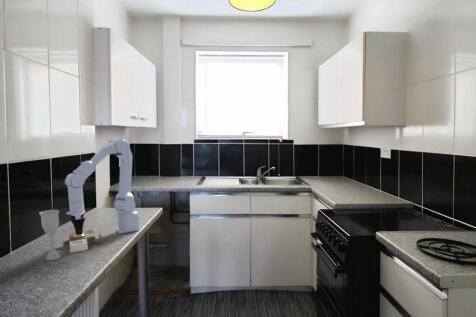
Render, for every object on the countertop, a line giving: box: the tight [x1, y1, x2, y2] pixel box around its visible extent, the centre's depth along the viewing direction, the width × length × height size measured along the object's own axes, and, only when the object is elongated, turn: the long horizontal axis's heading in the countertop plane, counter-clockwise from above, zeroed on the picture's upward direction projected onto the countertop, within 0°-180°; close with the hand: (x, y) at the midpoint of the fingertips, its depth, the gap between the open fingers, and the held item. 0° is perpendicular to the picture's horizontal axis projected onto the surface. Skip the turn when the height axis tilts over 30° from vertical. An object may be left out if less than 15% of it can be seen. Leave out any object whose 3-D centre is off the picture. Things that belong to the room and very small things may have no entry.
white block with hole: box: [69, 239, 89, 253], centre depth 149 cm, size 6×6×3 cm
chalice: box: [38, 209, 62, 261], centre depth 139 cm, size 7×7×18 cm
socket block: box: [68, 228, 102, 246], centre depth 160 cm, size 12×13×3 cm
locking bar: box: [85, 227, 99, 239], centre depth 155 cm, size 5×11×2 cm, turn 26°
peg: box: [73, 230, 85, 238], centre depth 157 cm, size 5×5×7 cm
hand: (78, 232), depth 157 cm, fingers open, 7 cm apart
